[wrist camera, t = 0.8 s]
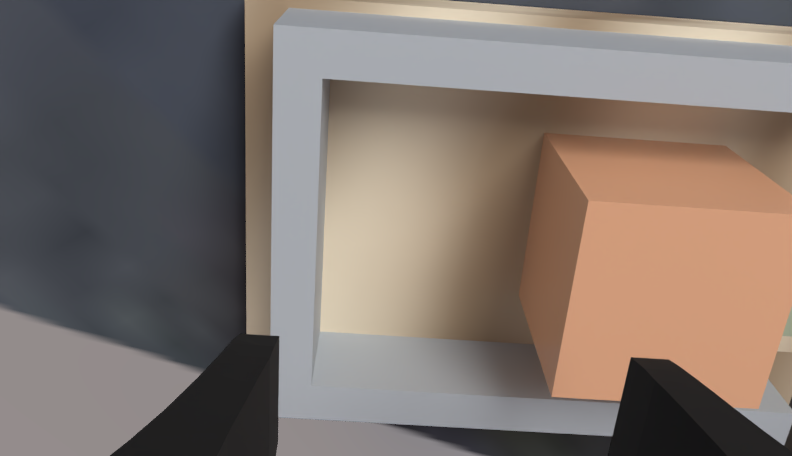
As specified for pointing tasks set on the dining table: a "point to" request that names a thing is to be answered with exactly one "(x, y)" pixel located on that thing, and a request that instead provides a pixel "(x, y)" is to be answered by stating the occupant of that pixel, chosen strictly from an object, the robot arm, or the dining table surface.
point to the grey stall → (478, 70)
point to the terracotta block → (655, 265)
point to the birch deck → (463, 176)
